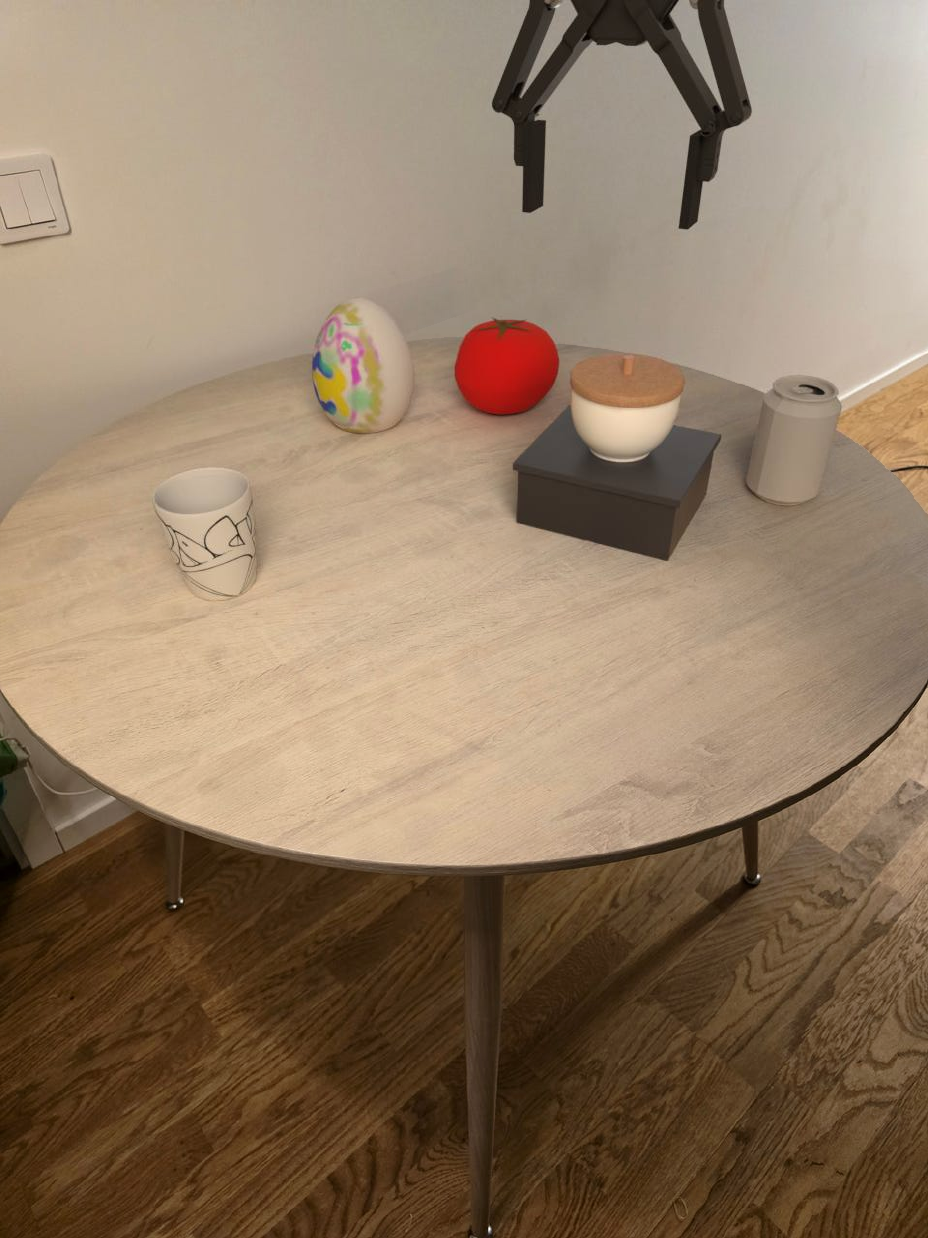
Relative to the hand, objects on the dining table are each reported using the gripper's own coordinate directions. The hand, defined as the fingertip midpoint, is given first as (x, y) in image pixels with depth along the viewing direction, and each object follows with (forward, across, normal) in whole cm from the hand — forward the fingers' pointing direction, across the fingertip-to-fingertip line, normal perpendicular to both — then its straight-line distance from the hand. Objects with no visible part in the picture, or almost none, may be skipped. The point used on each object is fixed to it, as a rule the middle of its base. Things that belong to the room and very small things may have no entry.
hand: (607, 217), depth 72 cm
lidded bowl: (+22, +2, +3) cm, 22 cm away
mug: (+29, -28, -25) cm, 48 cm away
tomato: (+29, -19, +21) cm, 41 cm away
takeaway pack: (+29, +2, +3) cm, 29 cm away
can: (+29, +17, +14) cm, 37 cm away
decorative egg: (+29, -33, +10) cm, 45 cm away
